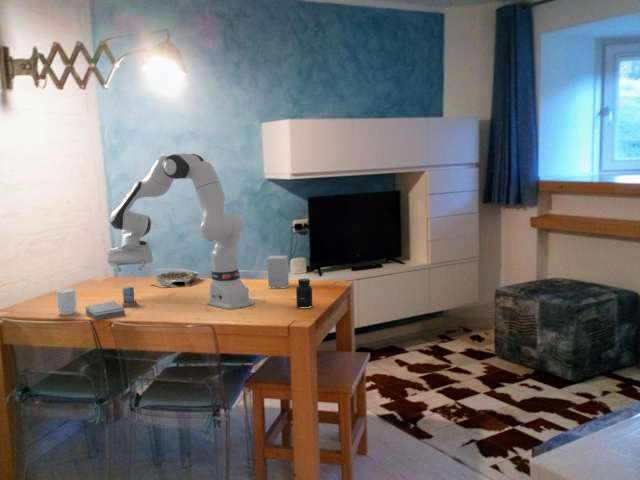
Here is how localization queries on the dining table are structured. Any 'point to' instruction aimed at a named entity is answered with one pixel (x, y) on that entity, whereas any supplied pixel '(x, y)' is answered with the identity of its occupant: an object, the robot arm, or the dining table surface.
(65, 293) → the white cup
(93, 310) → the dock
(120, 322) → the dining table surface
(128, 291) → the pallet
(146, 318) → the dining table surface
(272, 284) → the supplement box
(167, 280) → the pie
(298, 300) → the supplement bottle
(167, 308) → the dining table surface
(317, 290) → the dining table surface
